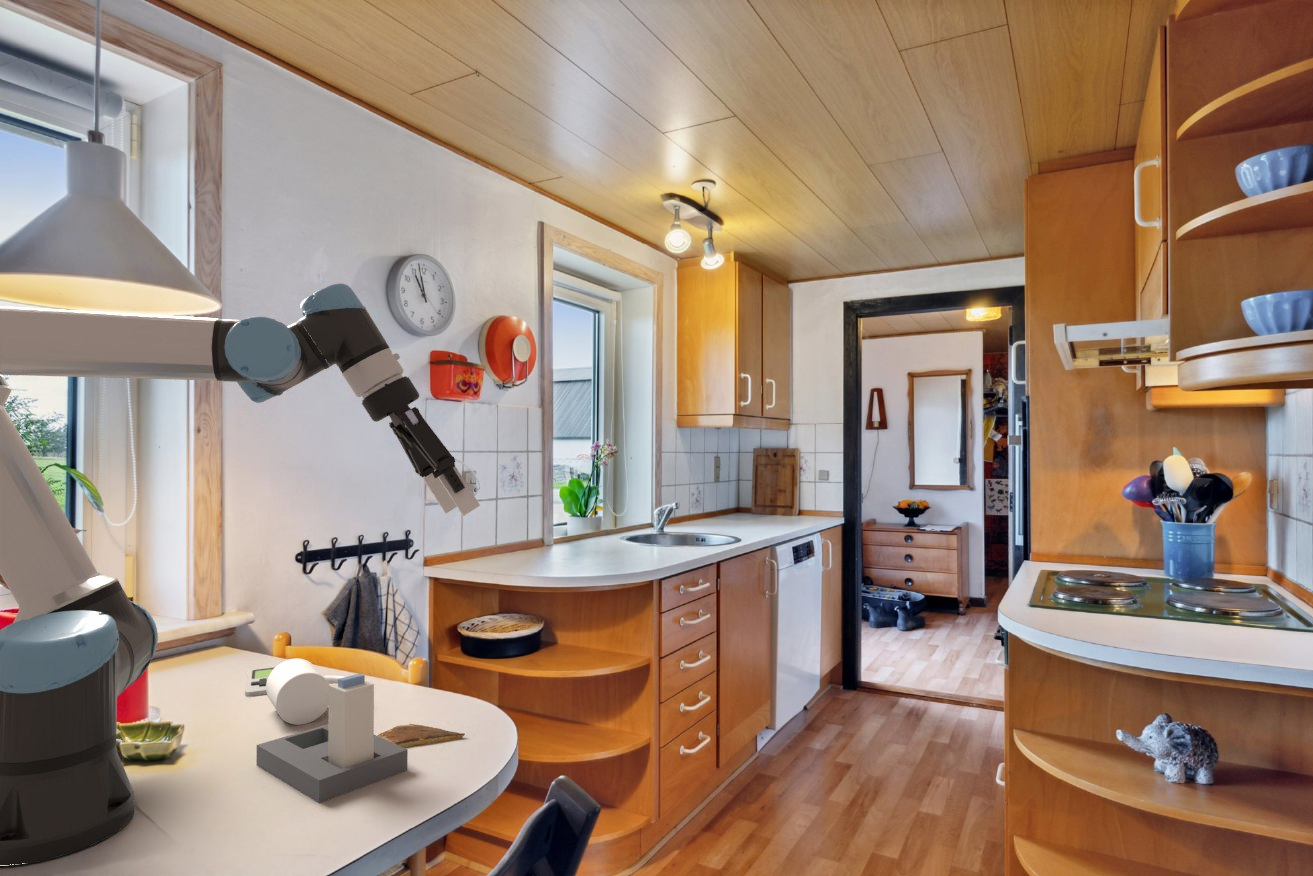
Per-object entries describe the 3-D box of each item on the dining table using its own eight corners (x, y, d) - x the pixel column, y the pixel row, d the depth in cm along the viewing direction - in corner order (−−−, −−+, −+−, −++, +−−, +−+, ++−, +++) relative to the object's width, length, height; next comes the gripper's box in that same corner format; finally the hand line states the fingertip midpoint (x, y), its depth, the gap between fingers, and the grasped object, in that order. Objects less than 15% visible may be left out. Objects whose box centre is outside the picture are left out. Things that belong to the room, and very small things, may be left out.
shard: (465, 743, 112) (465, 731, 112) (429, 763, 105) (429, 750, 105) (407, 732, 117) (407, 720, 117) (370, 750, 110) (370, 737, 110)
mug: (276, 730, 116) (276, 677, 116) (265, 711, 124) (265, 662, 125) (358, 714, 123) (358, 664, 123) (343, 697, 131) (343, 651, 131)
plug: (344, 787, 96) (344, 684, 96) (328, 779, 99) (328, 677, 99) (373, 777, 99) (373, 676, 99) (357, 768, 102) (357, 670, 102)
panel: (319, 805, 92) (319, 780, 92) (256, 767, 103) (256, 745, 103) (407, 772, 101) (407, 749, 101) (341, 740, 112) (341, 720, 112)
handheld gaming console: (244, 690, 131) (247, 667, 145) (244, 700, 131) (247, 676, 145) (308, 682, 136) (305, 661, 149) (308, 691, 136) (305, 669, 149)
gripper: (419, 360, 101) (503, 496, 105) (395, 384, 123) (466, 495, 127) (367, 389, 98) (456, 527, 102) (353, 408, 120) (426, 521, 124)
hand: (462, 509), depth 114 cm, fingers open, 13 cm apart
